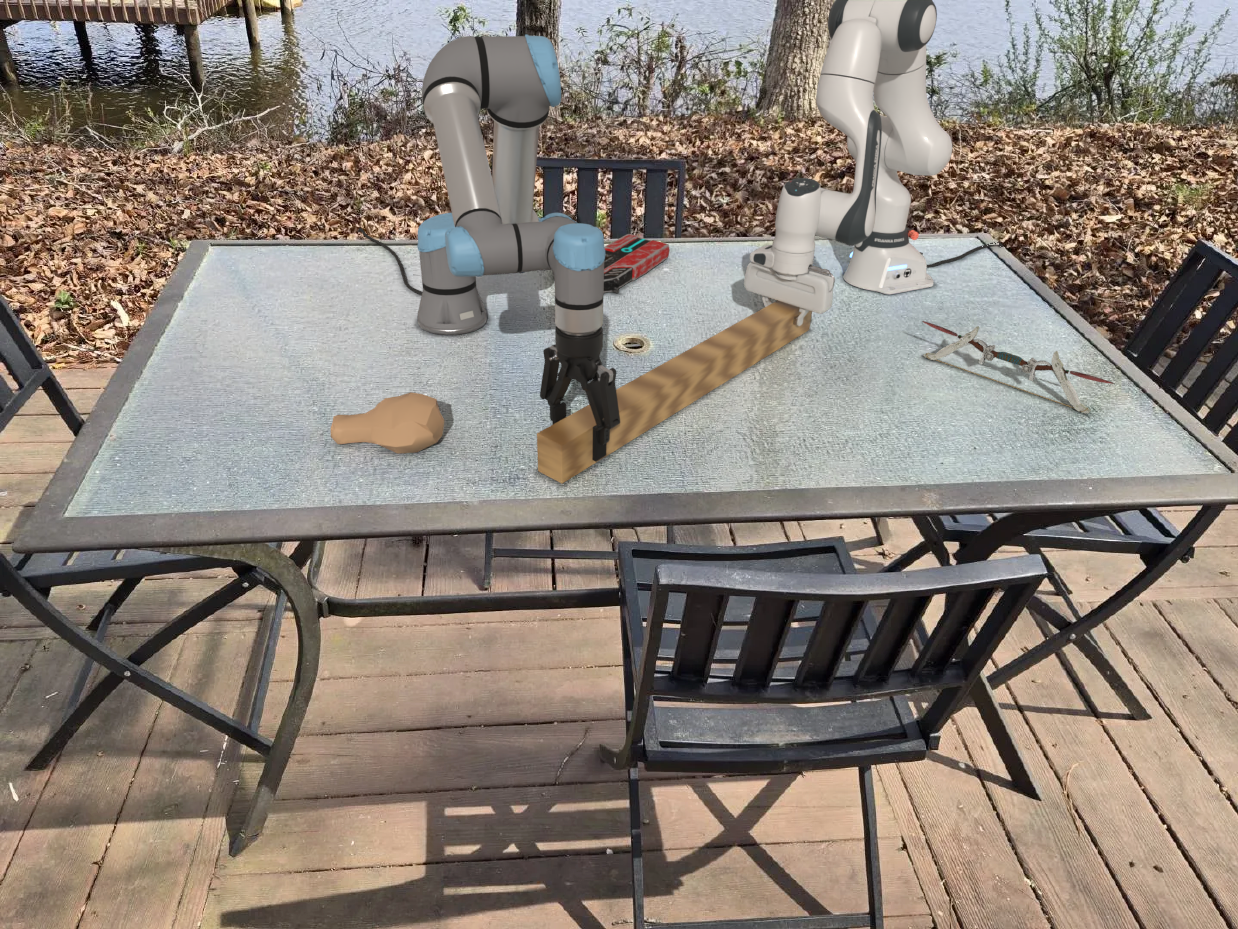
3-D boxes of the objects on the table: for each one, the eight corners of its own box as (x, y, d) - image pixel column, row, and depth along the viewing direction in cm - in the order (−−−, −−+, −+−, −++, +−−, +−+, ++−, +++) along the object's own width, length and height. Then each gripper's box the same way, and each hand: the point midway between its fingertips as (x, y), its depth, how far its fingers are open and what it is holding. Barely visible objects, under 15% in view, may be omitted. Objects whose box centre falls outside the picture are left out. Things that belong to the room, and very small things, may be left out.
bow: (1102, 416, 168) (1120, 369, 163) (1099, 419, 167) (1116, 372, 162) (916, 351, 190) (927, 308, 184) (912, 354, 189) (923, 311, 183)
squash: (445, 460, 150) (431, 421, 144) (332, 469, 152) (314, 430, 146) (454, 419, 158) (441, 380, 152) (346, 428, 160) (330, 389, 154)
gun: (545, 262, 216) (612, 281, 208) (611, 226, 238) (673, 242, 230) (545, 280, 218) (612, 299, 211) (610, 242, 240) (672, 258, 233)
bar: (562, 484, 145) (561, 445, 141) (537, 471, 148) (536, 433, 144) (809, 330, 198) (814, 298, 194) (787, 322, 201) (792, 291, 197)
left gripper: (647, 338, 134) (641, 461, 147) (546, 300, 145) (549, 418, 158) (615, 354, 129) (612, 480, 142) (514, 314, 140) (519, 434, 153)
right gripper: (843, 267, 181) (832, 329, 189) (759, 244, 192) (752, 302, 200) (828, 276, 177) (818, 338, 185) (743, 251, 188) (737, 311, 196)
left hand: (579, 447), depth 150 cm, fingers open, 8 cm apart
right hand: (783, 319), depth 192 cm, fingers closed on bar, 6 cm apart
